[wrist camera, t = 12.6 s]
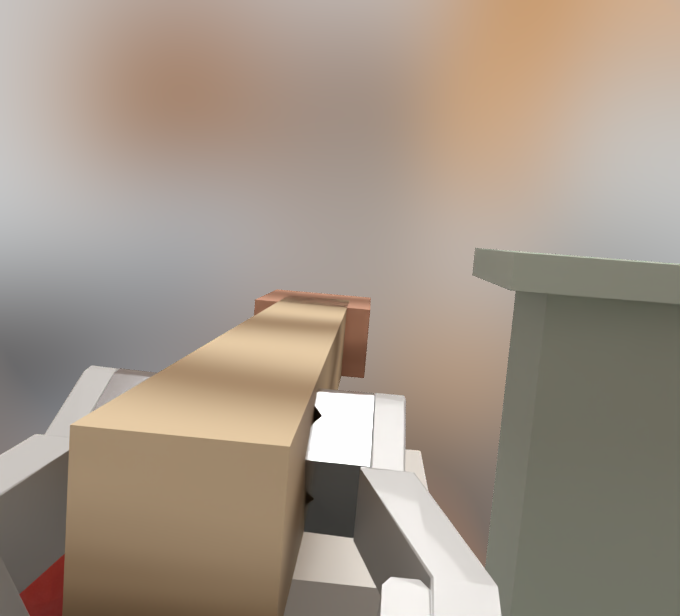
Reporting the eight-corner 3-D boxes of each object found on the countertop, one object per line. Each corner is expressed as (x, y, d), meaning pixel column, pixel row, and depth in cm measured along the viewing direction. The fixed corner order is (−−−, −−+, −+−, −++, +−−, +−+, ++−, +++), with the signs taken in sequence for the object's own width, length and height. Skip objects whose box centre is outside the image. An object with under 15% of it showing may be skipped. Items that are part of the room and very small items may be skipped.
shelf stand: (836, 941, 25) (963, 287, 22) (430, 888, 26) (498, 251, 22) (671, 688, 39) (735, 268, 36) (412, 659, 39) (452, 245, 36)
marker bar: (345, 664, 7) (364, 453, 7) (-9, 624, 7) (-2, 417, 7) (365, 353, 27) (370, 297, 26) (272, 344, 27) (277, 289, 27)
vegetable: (-76, 611, 40) (-77, 463, 39) (93, 575, 46) (97, 444, 45) (-81, 731, 31) (-82, 542, 30) (130, 667, 37) (137, 505, 36)
